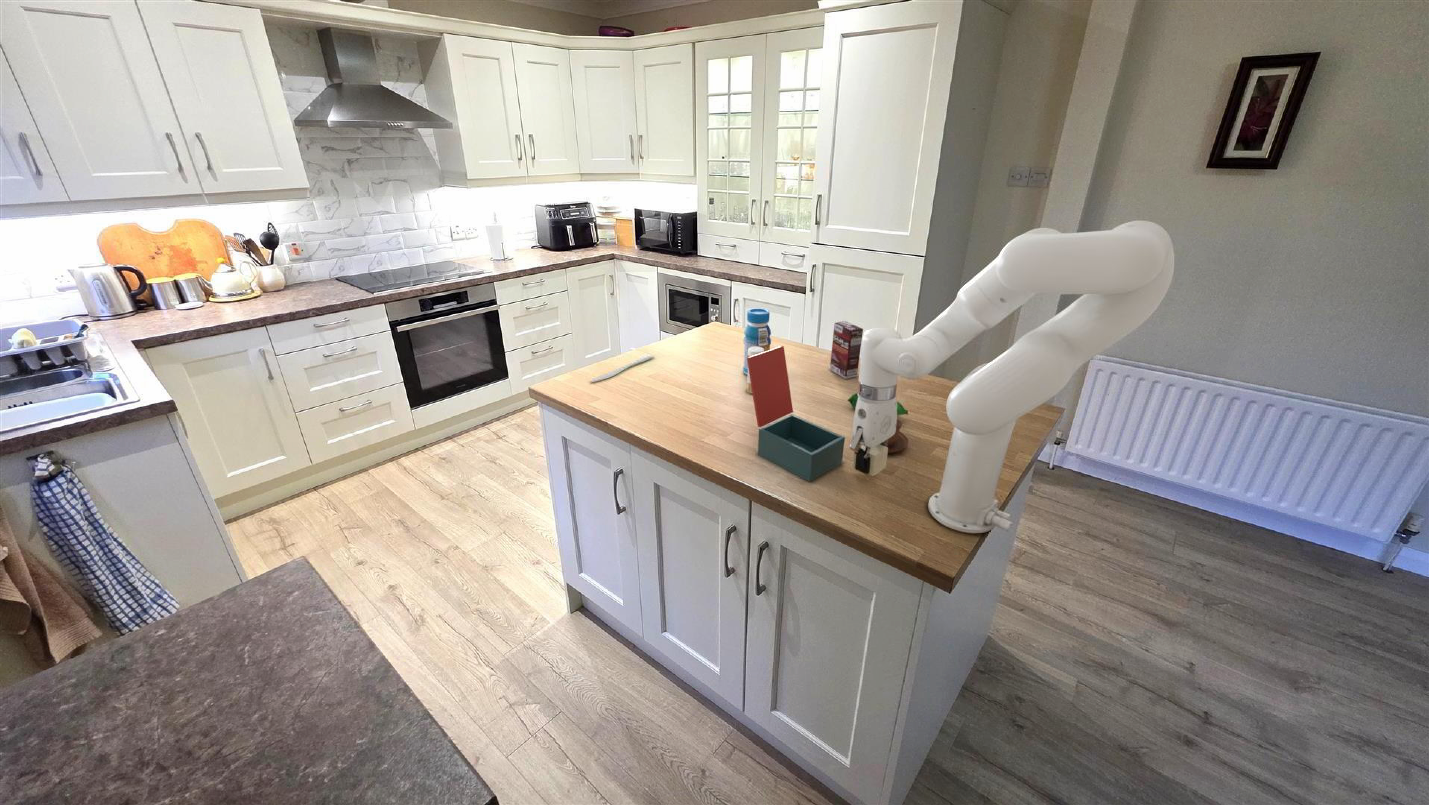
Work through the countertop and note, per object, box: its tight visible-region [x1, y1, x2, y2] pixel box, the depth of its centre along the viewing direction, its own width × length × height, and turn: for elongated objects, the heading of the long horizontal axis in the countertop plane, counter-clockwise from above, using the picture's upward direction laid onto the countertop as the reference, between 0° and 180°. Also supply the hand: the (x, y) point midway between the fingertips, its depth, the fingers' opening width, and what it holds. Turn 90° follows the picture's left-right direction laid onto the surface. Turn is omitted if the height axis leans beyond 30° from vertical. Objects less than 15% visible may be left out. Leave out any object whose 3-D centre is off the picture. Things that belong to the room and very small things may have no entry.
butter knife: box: [590, 355, 654, 383], centre depth 176 cm, size 1×27×3 cm
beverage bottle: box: [742, 307, 772, 376], centre depth 170 cm, size 8×8×20 cm
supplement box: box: [829, 320, 864, 380], centre depth 170 cm, size 9×5×16 cm, turn 25°
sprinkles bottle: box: [746, 346, 764, 395], centre depth 158 cm, size 5×5×13 cm
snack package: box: [847, 392, 909, 417], centre depth 147 cm, size 7×16×5 cm, turn 35°
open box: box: [757, 413, 846, 483], centre depth 126 cm, size 16×12×7 cm
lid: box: [747, 345, 794, 428], centre depth 127 cm, size 16×12×1 cm
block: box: [852, 444, 889, 477], centre depth 118 cm, size 5×5×5 cm
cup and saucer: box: [862, 419, 909, 454], centre depth 132 cm, size 12×12×6 cm
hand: (869, 465), depth 119 cm, fingers closed on block, 5 cm apart
